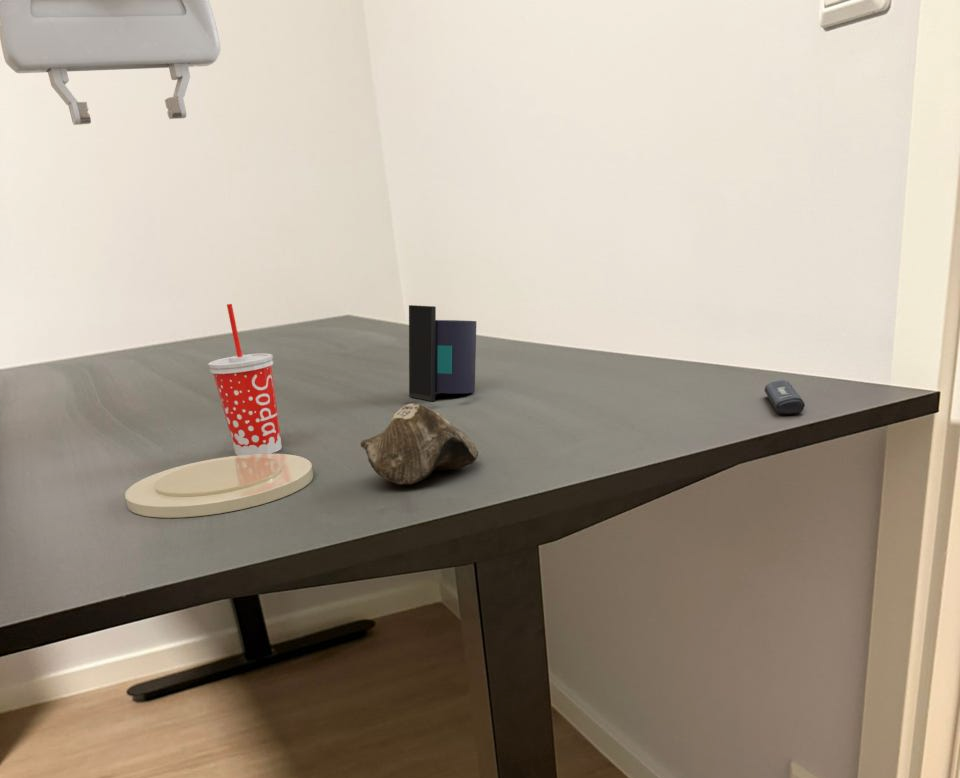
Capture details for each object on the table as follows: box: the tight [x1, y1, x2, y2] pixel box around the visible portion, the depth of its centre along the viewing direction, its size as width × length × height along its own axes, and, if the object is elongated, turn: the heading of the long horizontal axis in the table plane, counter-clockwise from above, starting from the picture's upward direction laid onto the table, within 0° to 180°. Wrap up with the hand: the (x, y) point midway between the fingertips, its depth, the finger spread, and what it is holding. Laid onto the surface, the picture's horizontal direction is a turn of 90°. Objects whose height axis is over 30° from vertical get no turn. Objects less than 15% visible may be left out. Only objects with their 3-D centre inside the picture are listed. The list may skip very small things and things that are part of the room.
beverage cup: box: [207, 303, 283, 456], centre depth 93 cm, size 6×6×14 cm
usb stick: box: [764, 379, 806, 416], centre depth 90 cm, size 10×3×2 cm, turn 171°
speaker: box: [408, 304, 477, 402], centre depth 110 cm, size 8×6×10 cm
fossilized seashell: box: [360, 403, 479, 486], centre depth 79 cm, size 8×7×10 cm
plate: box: [124, 453, 314, 519], centre depth 83 cm, size 16×16×1 cm
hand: (131, 121), depth 95 cm, fingers open, 8 cm apart
